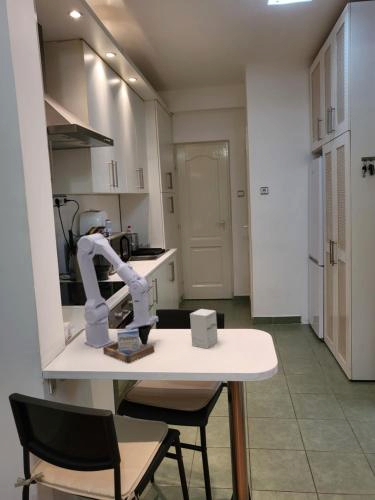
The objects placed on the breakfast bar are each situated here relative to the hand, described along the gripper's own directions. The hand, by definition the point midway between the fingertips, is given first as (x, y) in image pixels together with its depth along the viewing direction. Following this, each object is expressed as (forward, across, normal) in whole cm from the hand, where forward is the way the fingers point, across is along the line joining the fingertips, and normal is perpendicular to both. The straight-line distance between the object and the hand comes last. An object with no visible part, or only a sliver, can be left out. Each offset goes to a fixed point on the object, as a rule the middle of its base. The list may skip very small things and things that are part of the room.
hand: (144, 344), depth 158 cm
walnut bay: (+1, -8, 0) cm, 8 cm away
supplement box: (+1, +15, -18) cm, 23 cm away
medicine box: (+1, -7, 0) cm, 7 cm away
